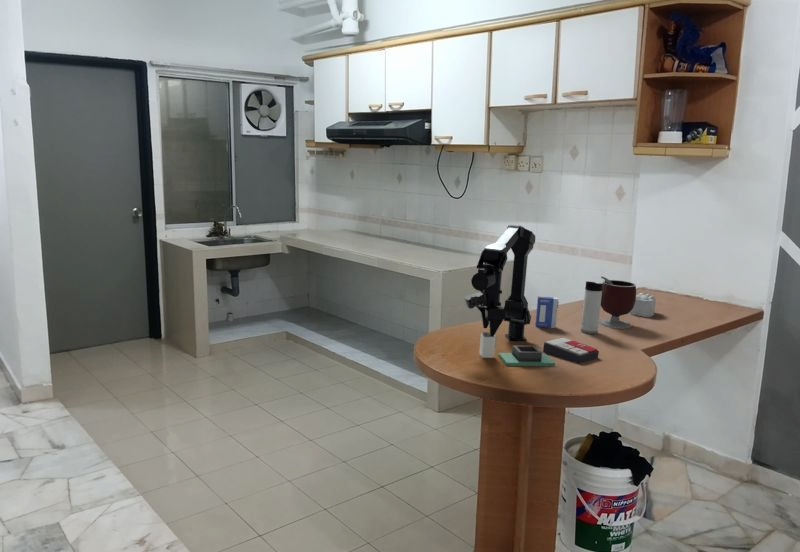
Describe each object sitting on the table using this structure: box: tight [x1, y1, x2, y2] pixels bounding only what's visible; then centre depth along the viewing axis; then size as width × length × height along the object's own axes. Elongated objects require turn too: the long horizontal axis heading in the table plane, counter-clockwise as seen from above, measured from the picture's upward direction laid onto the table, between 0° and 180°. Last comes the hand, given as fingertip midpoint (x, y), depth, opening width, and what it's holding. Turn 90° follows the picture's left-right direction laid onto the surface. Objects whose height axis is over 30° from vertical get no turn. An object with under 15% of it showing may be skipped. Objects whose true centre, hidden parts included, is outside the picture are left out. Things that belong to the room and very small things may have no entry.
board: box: [498, 345, 556, 367], centre depth 217 cm, size 10×16×4 cm, turn 96°
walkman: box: [535, 296, 559, 329], centre depth 260 cm, size 8×3×12 cm, turn 84°
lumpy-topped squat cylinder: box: [627, 292, 657, 318], centre depth 291 cm, size 10×13×9 cm
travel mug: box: [580, 280, 603, 335], centre depth 254 cm, size 6×7×20 cm
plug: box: [478, 331, 497, 359], centre depth 220 cm, size 4×5×8 cm
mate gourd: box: [599, 276, 637, 329], centre depth 268 cm, size 16×14×20 cm
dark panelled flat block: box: [542, 337, 600, 364], centre depth 226 cm, size 11×4×15 cm
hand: (488, 332), depth 219 cm, fingers open, 9 cm apart
